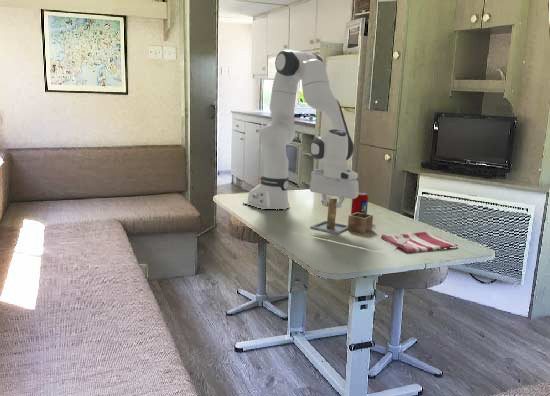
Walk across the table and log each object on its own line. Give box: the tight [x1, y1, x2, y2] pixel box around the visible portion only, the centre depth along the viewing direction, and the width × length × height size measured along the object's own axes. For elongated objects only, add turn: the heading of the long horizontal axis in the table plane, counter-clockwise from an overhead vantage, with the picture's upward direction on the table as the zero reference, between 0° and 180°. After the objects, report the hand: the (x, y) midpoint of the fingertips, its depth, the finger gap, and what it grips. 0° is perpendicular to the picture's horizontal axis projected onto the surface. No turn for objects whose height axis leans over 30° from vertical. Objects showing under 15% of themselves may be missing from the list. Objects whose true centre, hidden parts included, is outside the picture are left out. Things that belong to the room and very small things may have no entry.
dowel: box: [326, 198, 338, 229], centre depth 202 cm, size 3×3×12 cm
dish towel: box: [380, 231, 459, 254], centre depth 190 cm, size 17×23×3 cm
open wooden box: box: [347, 212, 374, 234], centre depth 202 cm, size 7×7×7 cm
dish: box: [309, 220, 349, 235], centre depth 203 cm, size 12×12×1 cm
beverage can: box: [350, 191, 369, 215], centre depth 219 cm, size 7×7×12 cm
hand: (332, 206), depth 201 cm, fingers open, 4 cm apart
